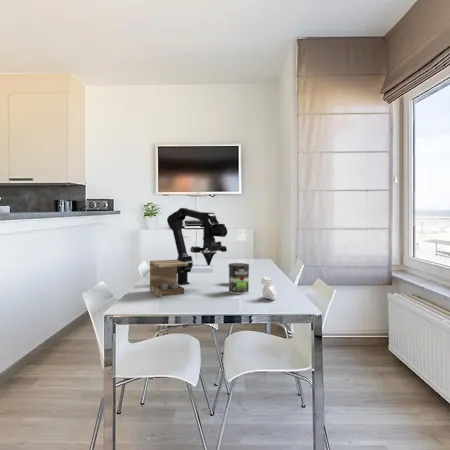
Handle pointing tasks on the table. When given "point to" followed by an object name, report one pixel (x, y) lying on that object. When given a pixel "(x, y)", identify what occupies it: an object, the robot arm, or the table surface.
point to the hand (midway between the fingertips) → (208, 265)
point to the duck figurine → (268, 289)
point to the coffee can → (238, 278)
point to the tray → (171, 289)
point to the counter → (163, 274)
